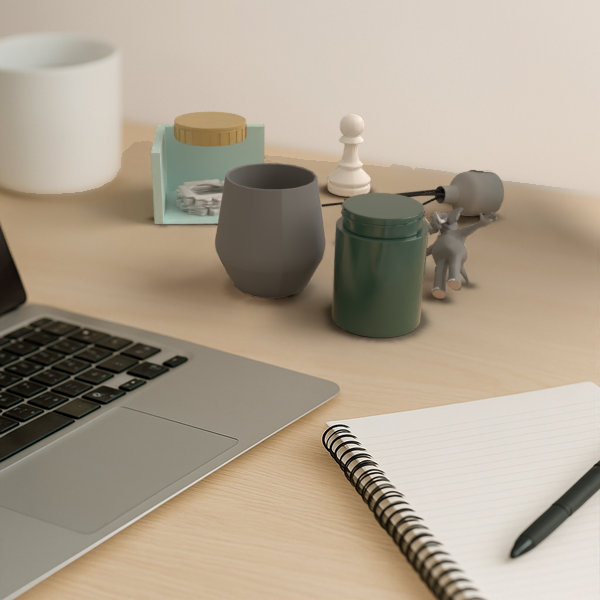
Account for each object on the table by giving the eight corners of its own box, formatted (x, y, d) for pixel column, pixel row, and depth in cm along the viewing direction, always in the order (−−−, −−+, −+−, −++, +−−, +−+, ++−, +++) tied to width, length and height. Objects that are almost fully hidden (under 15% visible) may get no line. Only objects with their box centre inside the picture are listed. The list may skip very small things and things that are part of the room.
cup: (209, 268, 76) (206, 162, 71) (308, 261, 78) (311, 157, 73) (226, 314, 67) (224, 196, 63) (336, 304, 69) (342, 190, 65)
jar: (410, 297, 71) (420, 190, 67) (428, 337, 65) (440, 221, 60) (327, 298, 70) (332, 190, 66) (336, 338, 64) (342, 221, 60)
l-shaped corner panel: (154, 224, 86) (150, 153, 82) (160, 188, 96) (157, 124, 93) (270, 222, 87) (271, 152, 84) (263, 187, 98) (263, 124, 94)
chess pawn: (323, 184, 99) (326, 109, 95) (364, 183, 100) (368, 108, 96) (332, 198, 95) (335, 119, 91) (374, 196, 95) (379, 119, 92)
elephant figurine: (378, 295, 72) (387, 227, 78) (421, 334, 74) (427, 265, 80) (475, 244, 66) (476, 175, 72) (517, 288, 68) (515, 218, 75)
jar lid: (191, 126, 93) (190, 109, 92) (256, 132, 91) (256, 115, 90) (162, 142, 86) (161, 124, 85) (232, 149, 84) (231, 131, 83)
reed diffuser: (522, 163, 86) (358, 166, 77) (526, 229, 86) (364, 240, 77) (460, 176, 95) (307, 180, 86) (464, 236, 96) (312, 246, 86)
